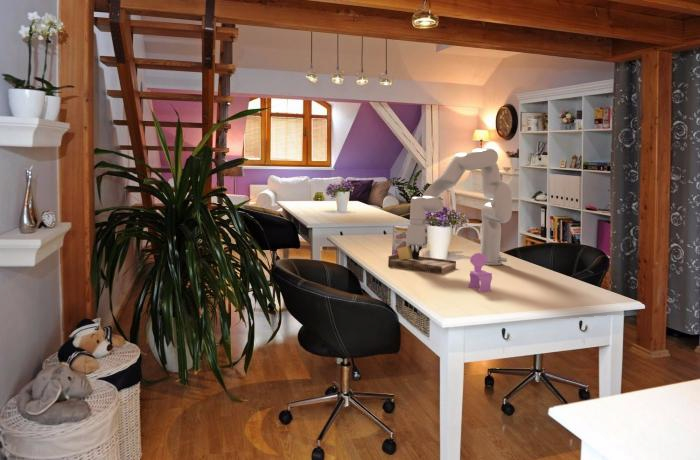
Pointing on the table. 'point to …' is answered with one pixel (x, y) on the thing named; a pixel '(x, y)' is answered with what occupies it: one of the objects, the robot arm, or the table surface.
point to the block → (404, 252)
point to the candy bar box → (398, 238)
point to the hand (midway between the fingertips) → (415, 258)
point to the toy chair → (480, 273)
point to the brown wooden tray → (422, 264)
